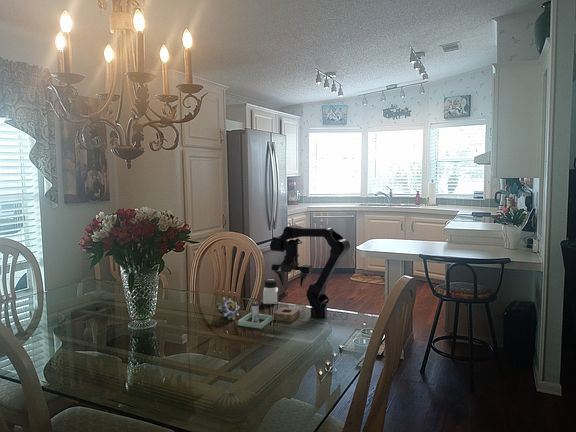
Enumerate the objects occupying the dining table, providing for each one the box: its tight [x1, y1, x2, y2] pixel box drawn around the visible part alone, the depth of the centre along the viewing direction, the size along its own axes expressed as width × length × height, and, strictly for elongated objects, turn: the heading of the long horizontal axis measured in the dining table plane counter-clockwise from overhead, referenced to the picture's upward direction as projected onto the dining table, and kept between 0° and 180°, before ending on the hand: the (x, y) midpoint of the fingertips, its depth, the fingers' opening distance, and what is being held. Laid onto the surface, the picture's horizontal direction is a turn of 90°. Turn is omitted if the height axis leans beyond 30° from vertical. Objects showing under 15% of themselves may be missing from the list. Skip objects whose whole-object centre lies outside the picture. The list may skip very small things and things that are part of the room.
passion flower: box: [215, 296, 241, 321], centre depth 202 cm, size 11×11×12 cm
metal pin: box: [251, 301, 260, 323], centre depth 192 cm, size 3×3×9 cm
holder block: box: [272, 306, 301, 323], centre depth 199 cm, size 9×9×4 cm
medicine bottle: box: [262, 279, 279, 305], centre depth 222 cm, size 7×7×12 cm
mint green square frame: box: [237, 312, 273, 330], centre depth 193 cm, size 11×11×3 cm
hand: (292, 286), depth 206 cm, fingers open, 9 cm apart
